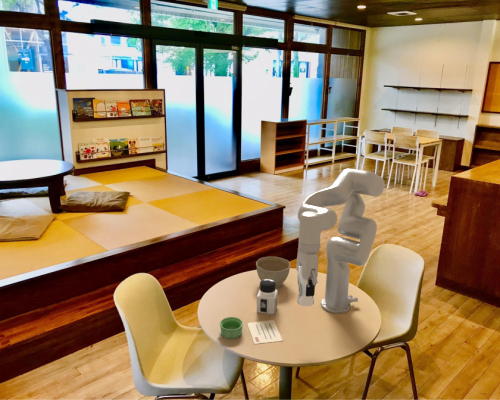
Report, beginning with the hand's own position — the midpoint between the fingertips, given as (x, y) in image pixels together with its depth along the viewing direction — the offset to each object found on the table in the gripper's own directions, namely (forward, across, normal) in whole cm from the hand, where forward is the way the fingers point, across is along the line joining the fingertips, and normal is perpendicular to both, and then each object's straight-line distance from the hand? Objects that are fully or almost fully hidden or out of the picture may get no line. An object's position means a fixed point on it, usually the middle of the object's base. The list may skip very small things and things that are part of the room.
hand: (306, 290), depth 155 cm
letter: (+20, -7, -14) cm, 25 cm away
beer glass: (+5, 0, 0) cm, 5 cm away
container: (+20, -23, -8) cm, 31 cm away
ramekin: (+20, -9, -26) cm, 34 cm away
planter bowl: (+20, -43, +1) cm, 48 cm away
